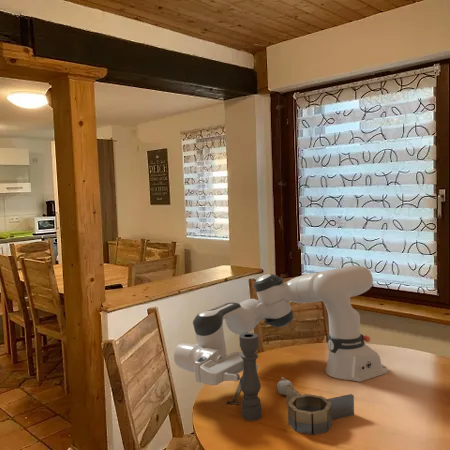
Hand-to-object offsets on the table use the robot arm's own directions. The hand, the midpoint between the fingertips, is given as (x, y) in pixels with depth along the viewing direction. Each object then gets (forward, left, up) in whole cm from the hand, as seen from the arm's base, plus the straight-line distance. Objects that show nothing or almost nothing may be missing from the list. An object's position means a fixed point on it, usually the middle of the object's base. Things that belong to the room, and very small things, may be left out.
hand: (247, 372), depth 142 cm
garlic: (-17, -10, -14) cm, 24 cm away
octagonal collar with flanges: (-19, +7, -13) cm, 24 cm away
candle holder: (-1, 0, -14) cm, 14 cm away
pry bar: (-4, -17, -14) cm, 22 cm away
